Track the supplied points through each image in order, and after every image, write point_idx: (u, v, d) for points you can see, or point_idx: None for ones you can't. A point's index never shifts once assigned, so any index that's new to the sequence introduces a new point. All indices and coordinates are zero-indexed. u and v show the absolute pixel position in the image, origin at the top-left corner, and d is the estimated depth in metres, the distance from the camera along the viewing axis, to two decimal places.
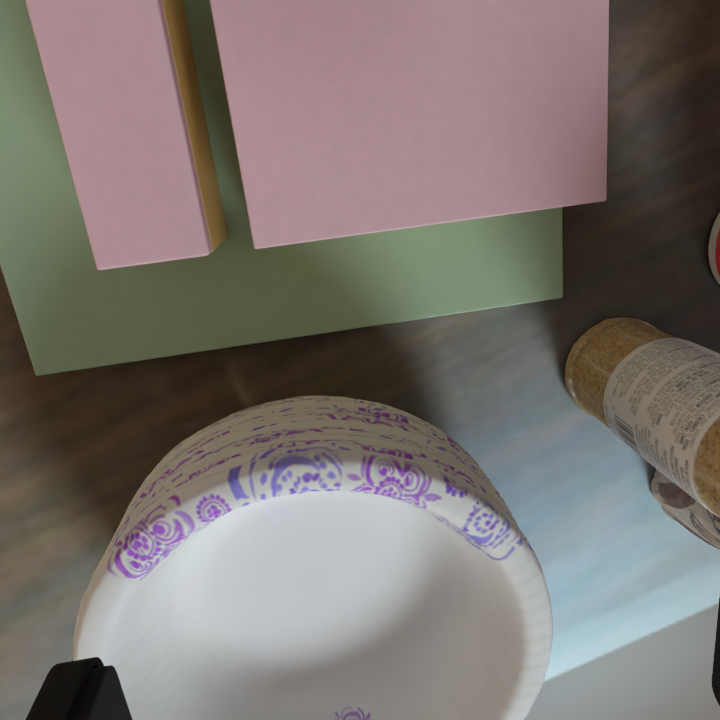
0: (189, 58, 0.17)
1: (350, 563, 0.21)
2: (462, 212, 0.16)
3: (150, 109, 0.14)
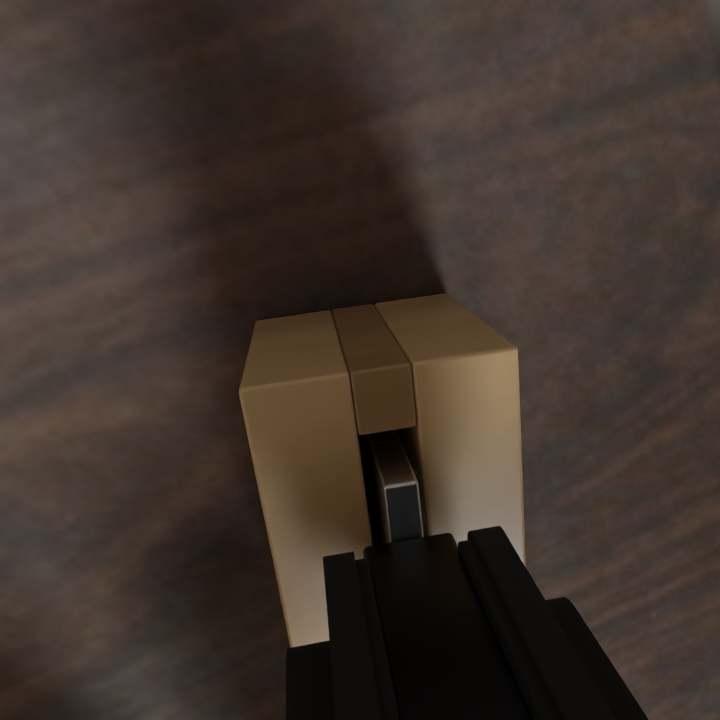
0: None
1: None
2: None
3: None
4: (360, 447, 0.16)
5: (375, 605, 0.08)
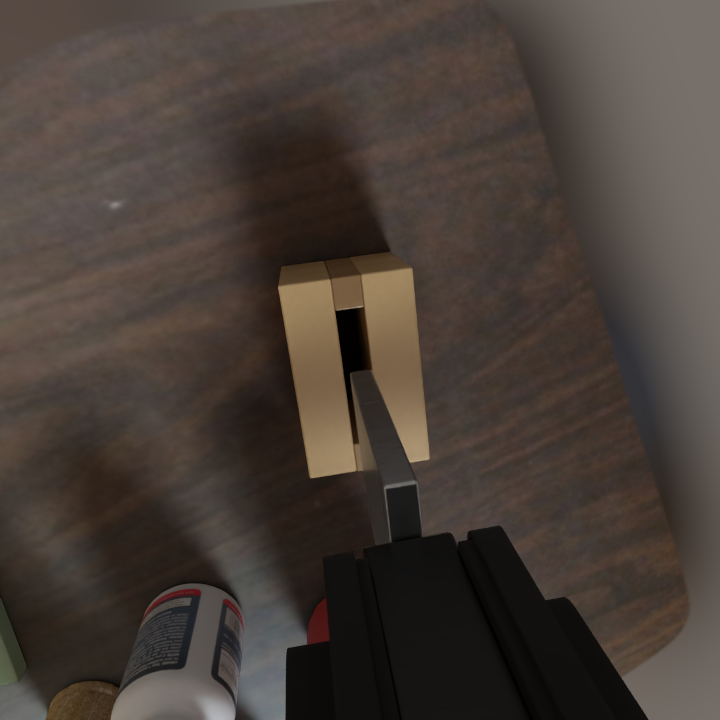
0: None
1: None
2: None
3: None
4: (360, 447, 0.16)
5: (375, 605, 0.08)
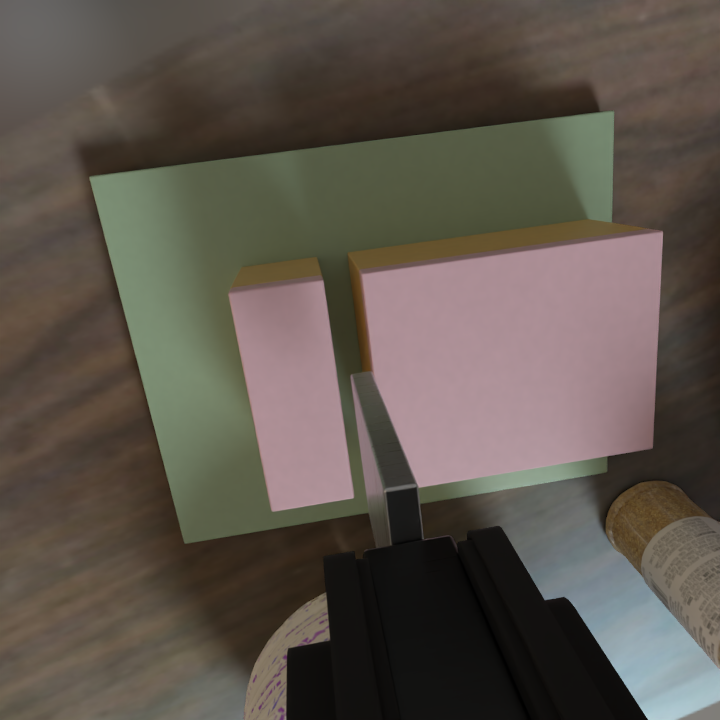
0: None
1: None
2: (544, 461, 0.21)
3: (320, 406, 0.19)
4: (360, 449, 0.16)
5: (376, 605, 0.08)
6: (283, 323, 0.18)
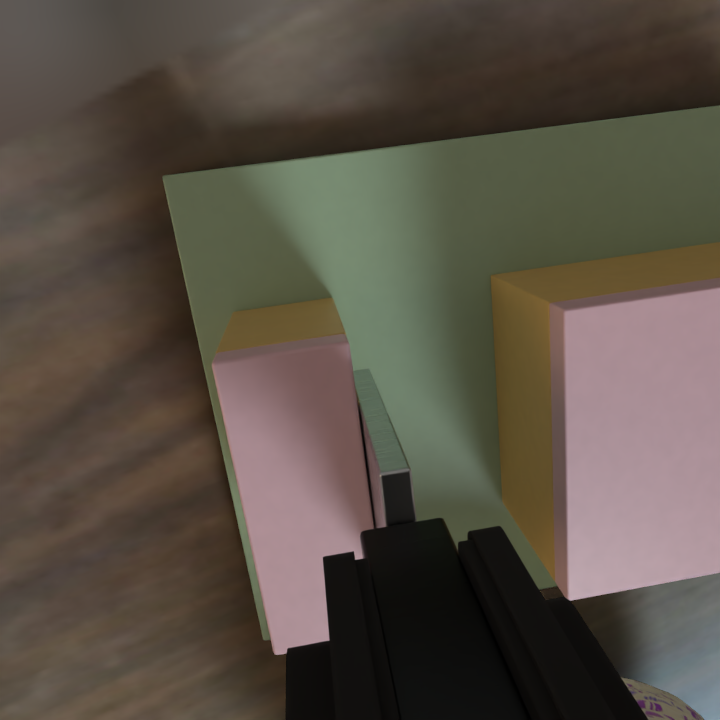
0: None
1: None
2: None
3: (343, 516, 0.14)
4: None
5: (375, 605, 0.08)
6: (291, 405, 0.13)
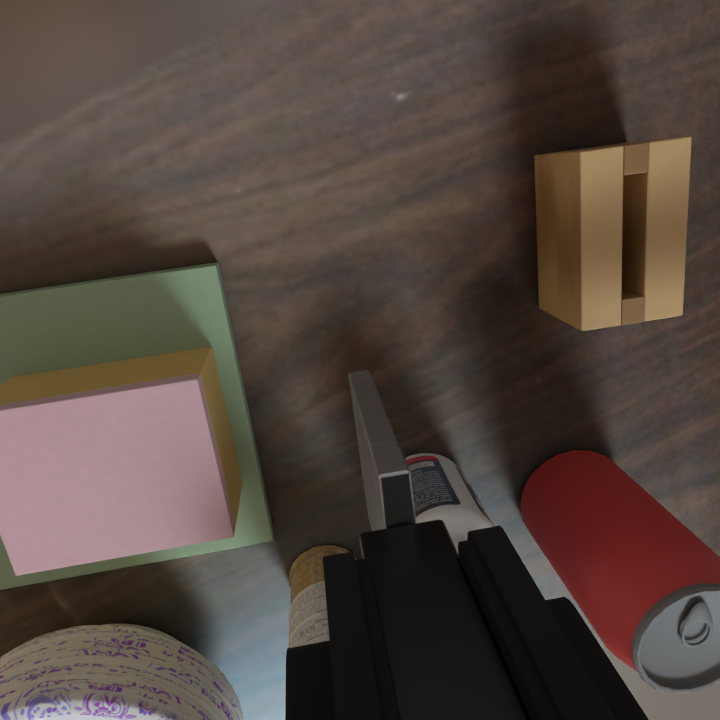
0: None
1: None
2: (142, 549, 0.27)
3: None
4: (358, 444, 0.16)
5: (375, 605, 0.08)
6: None
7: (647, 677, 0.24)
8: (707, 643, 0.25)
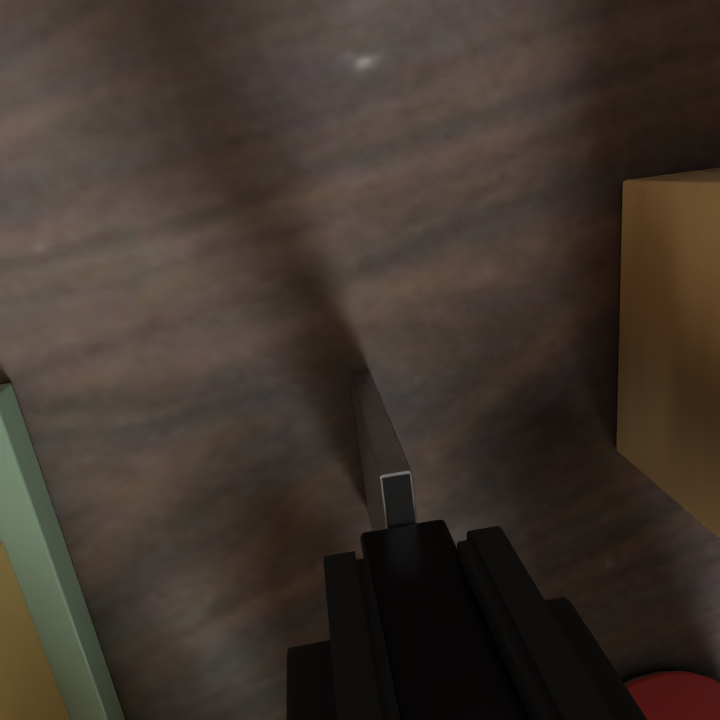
0: None
1: None
2: None
3: None
4: (359, 445, 0.16)
5: (376, 605, 0.08)
6: None
7: None
8: None
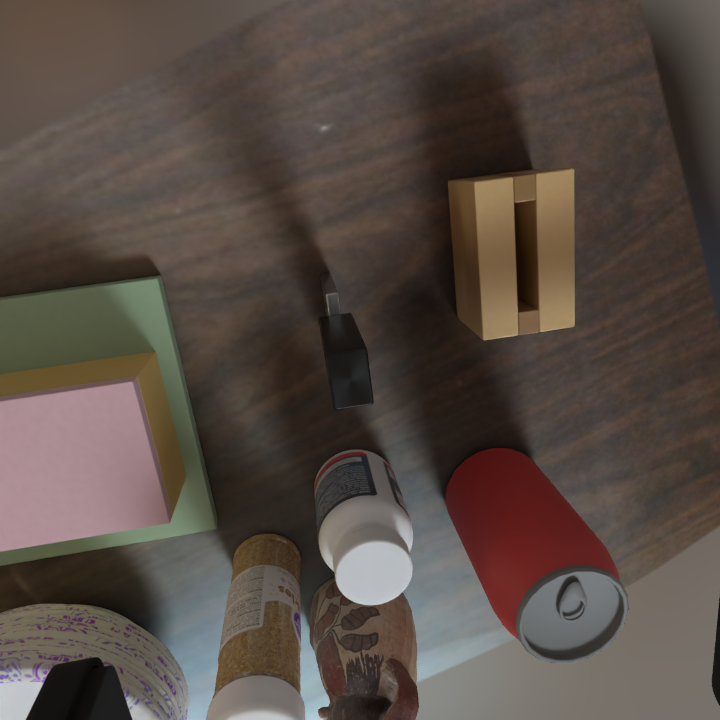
0: None
1: None
2: (87, 533, 0.30)
3: None
4: (325, 310, 0.33)
5: None
6: None
7: (530, 648, 0.28)
8: (584, 619, 0.28)
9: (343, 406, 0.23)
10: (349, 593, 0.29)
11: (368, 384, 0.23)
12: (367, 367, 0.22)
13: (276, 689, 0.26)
